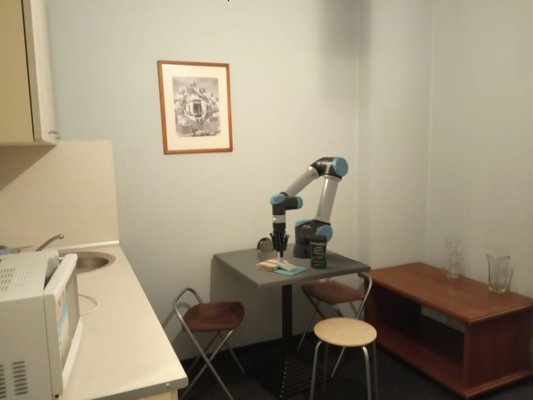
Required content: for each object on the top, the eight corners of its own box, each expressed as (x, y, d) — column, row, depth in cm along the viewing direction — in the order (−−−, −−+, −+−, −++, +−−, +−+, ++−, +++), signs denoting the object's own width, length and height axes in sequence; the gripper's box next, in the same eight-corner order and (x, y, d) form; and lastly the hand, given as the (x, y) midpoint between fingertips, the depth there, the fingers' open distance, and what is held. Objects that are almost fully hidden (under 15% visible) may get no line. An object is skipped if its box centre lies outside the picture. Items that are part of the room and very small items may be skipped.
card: (283, 263, 231) (284, 260, 231) (296, 269, 226) (296, 266, 225) (277, 265, 227) (277, 263, 226) (289, 271, 221) (290, 269, 221)
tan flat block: (273, 262, 243) (273, 258, 243) (289, 265, 236) (289, 261, 235) (256, 268, 231) (255, 264, 231) (272, 272, 223) (272, 267, 223)
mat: (289, 265, 235) (289, 264, 235) (307, 269, 227) (307, 268, 227) (272, 272, 223) (272, 271, 223) (290, 276, 215) (290, 275, 215)
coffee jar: (309, 268, 228) (309, 236, 226) (312, 264, 236) (311, 233, 234) (326, 269, 225) (326, 237, 223) (328, 265, 233) (328, 234, 231)
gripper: (266, 221, 228) (267, 262, 231) (284, 223, 220) (284, 265, 222) (274, 219, 234) (275, 259, 237) (292, 221, 225) (293, 263, 228)
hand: (280, 262), depth 229 cm, fingers closed
